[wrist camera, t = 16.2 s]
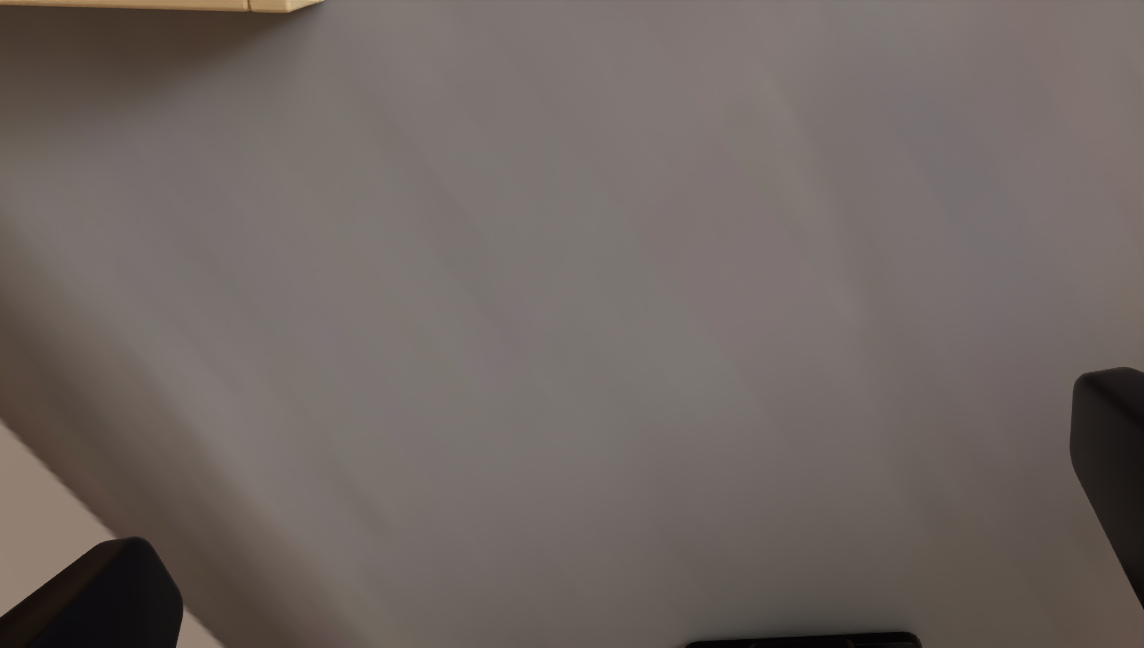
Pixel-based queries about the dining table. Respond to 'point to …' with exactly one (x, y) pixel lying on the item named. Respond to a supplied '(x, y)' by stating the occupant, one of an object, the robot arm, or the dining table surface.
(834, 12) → the dining table surface
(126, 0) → the mug tray
